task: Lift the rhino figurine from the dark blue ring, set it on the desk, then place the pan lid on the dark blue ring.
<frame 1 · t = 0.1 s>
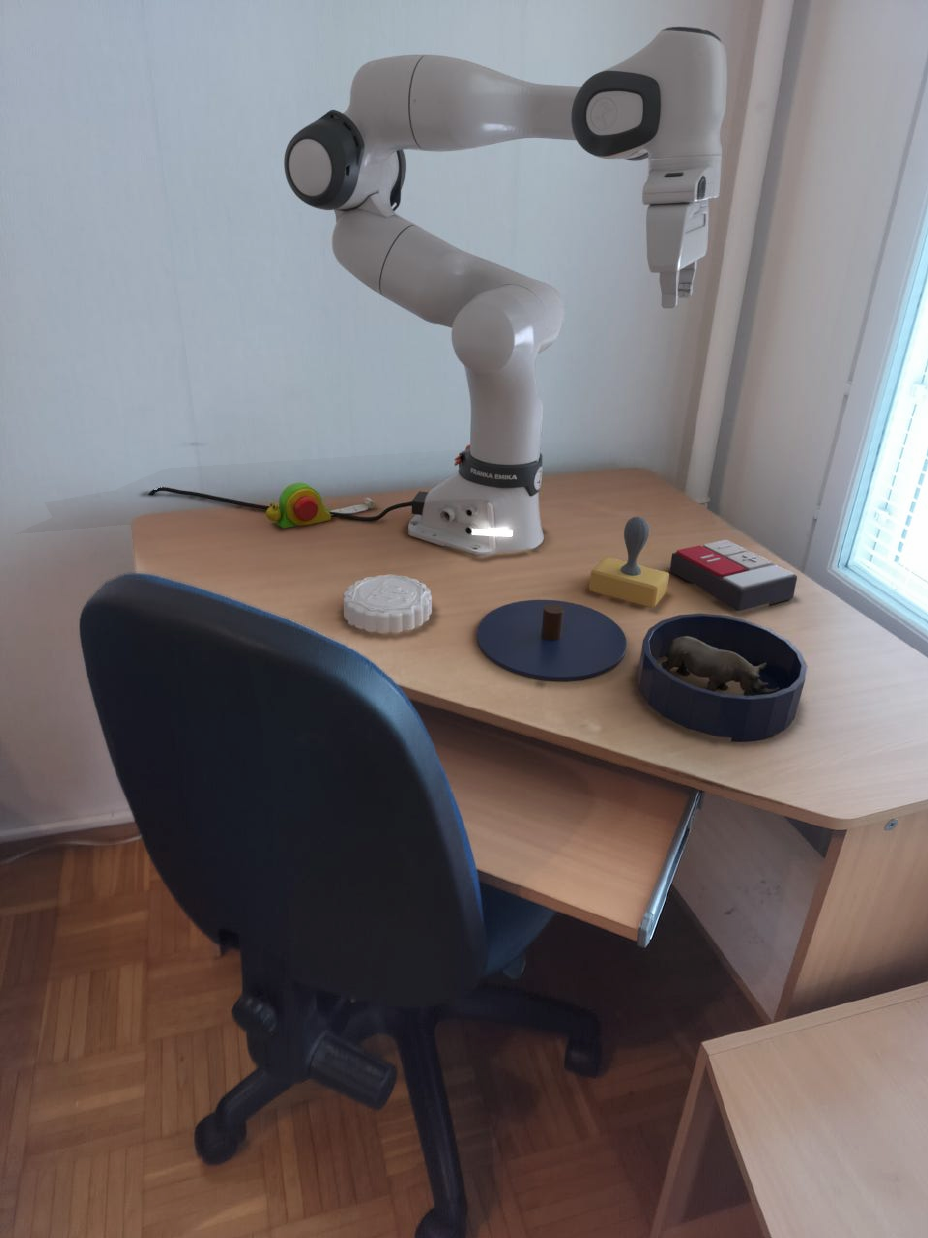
hand: (677, 301, 110), 39 cm above the table, tool pointing down, fingers open, 8 cm apart
rhino figurine: (714, 693, 100), resting on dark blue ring
calculator: (728, 585, 125), on the table
rubber stamp: (626, 595, 122), on the table
mooncake: (388, 615, 115), on the table
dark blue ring: (714, 693, 100), on the table
pan lid: (551, 639, 109), point 1 cm above the table
toy measuring tape: (322, 518, 143), on the table
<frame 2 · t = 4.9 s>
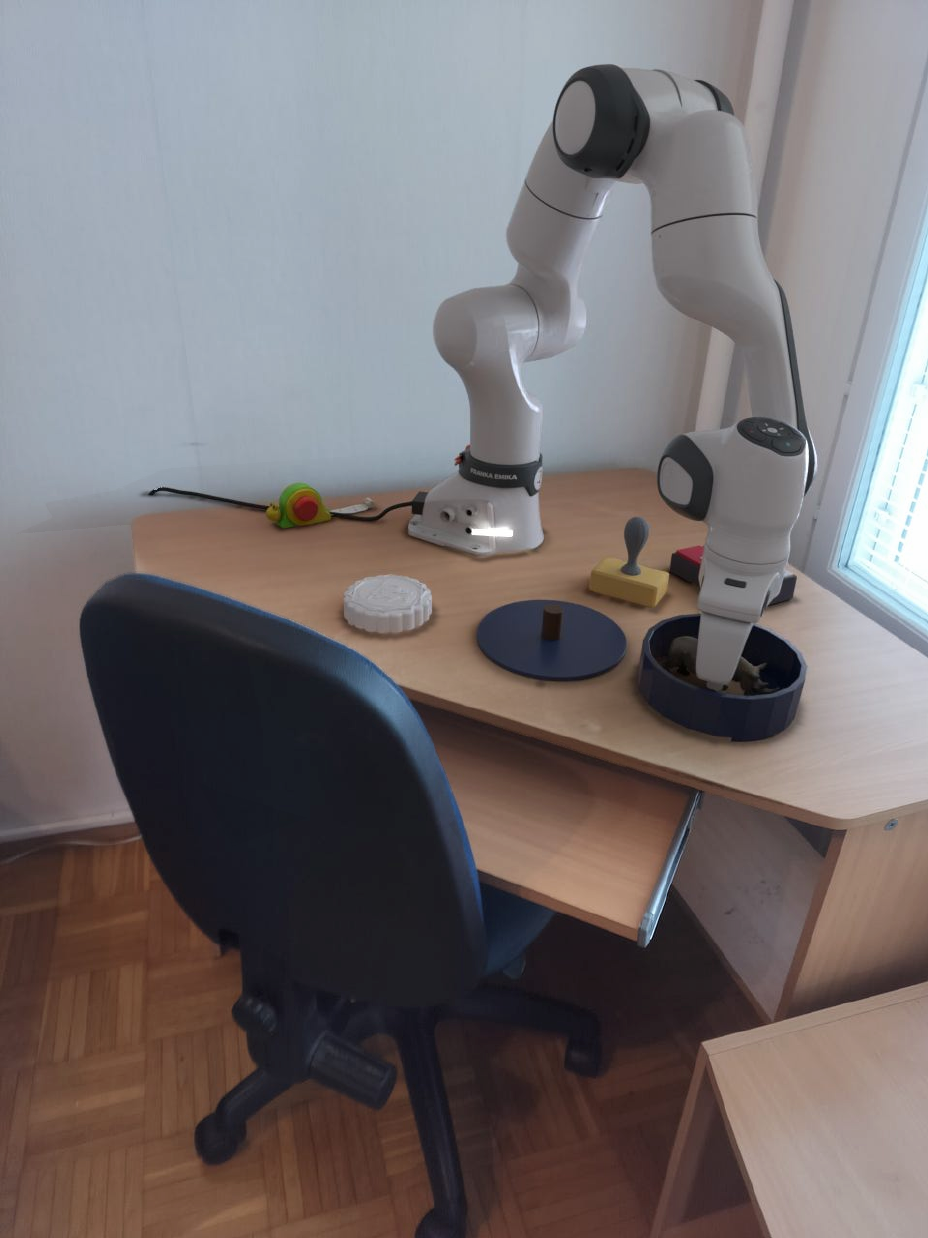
hand: (718, 674, 99), 3 cm above the table, tool pointing down, fingers closed on rhino figurine, 4 cm apart
rhino figurine: (714, 692, 100), resting on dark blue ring, touching gripper
everything else where it was.
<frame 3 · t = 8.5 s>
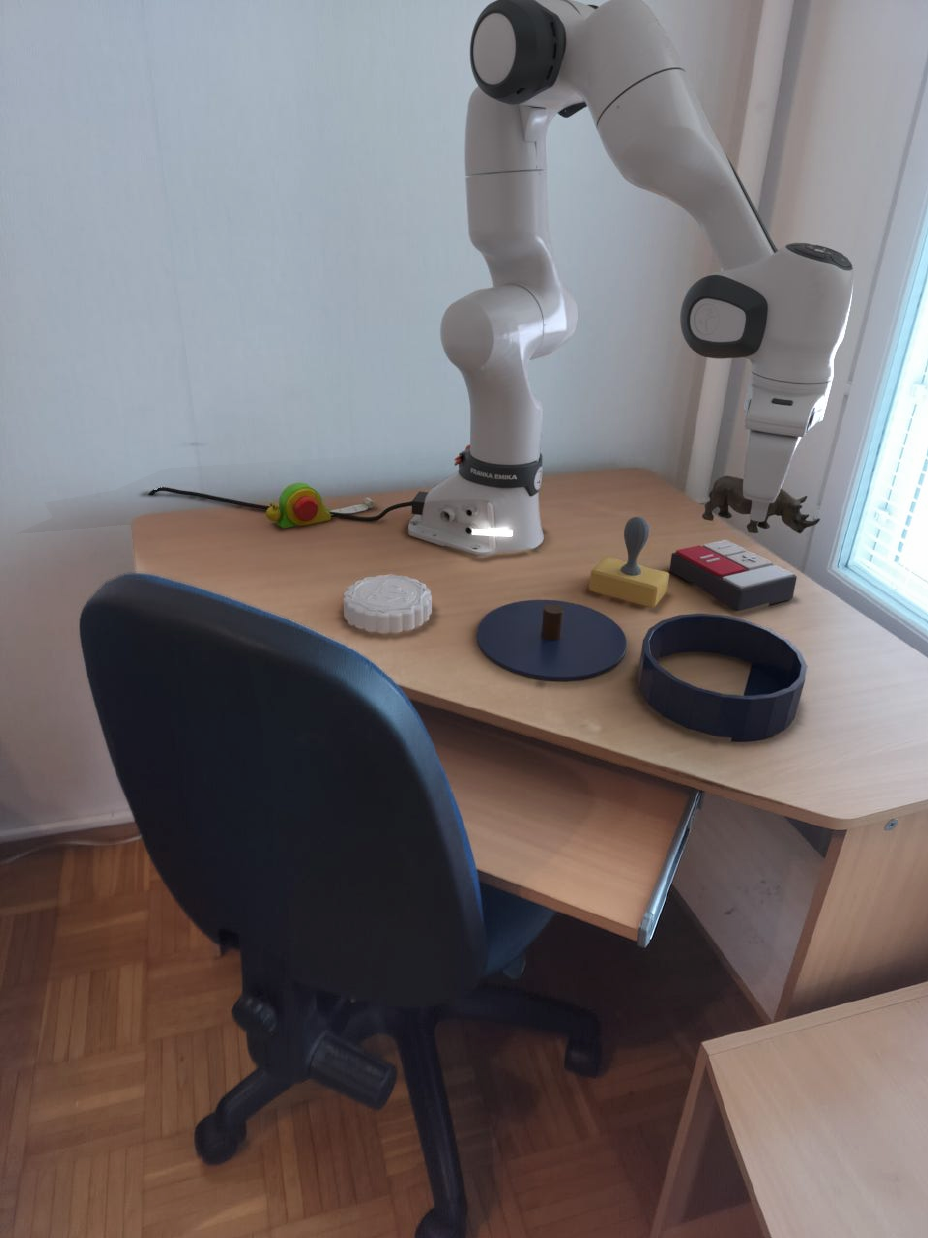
hand: (760, 511, 103), 18 cm above the table, tool pointing down, fingers closed on rhino figurine, 4 cm apart
rhino figurine: (756, 530, 104), point 15 cm above the table, touching gripper
everything else where it was.
when the fingers open (2 cm above the table, at t = 12.5 s): rhino figurine stays where it is, on the table.
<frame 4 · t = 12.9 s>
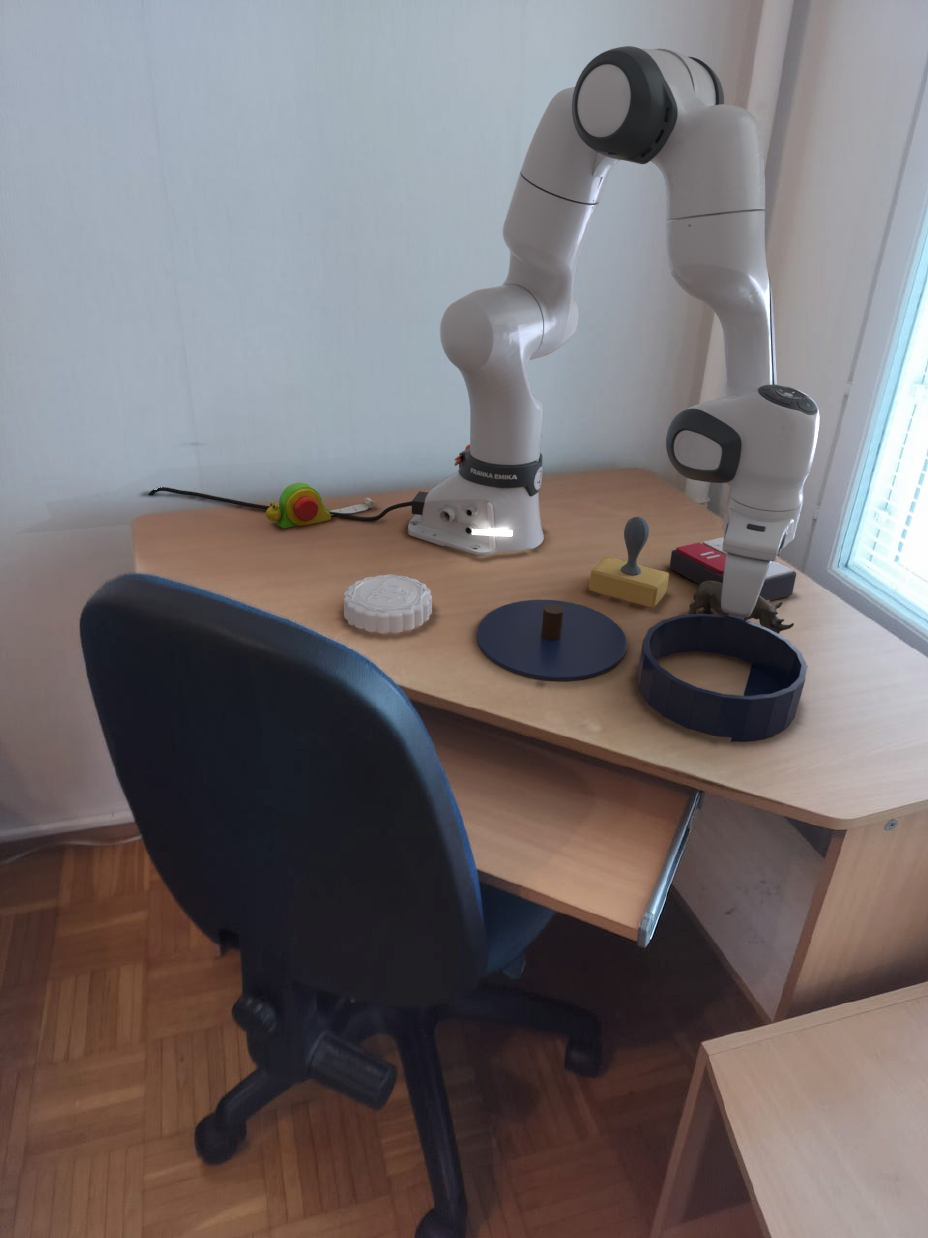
hand: (739, 614, 113), 2 cm above the table, tool pointing down, fingers open, 8 cm apart
rhino figurine: (736, 630, 114), on the table
calculator: (728, 582, 126), on the table, touching gripper
everything else where it was.
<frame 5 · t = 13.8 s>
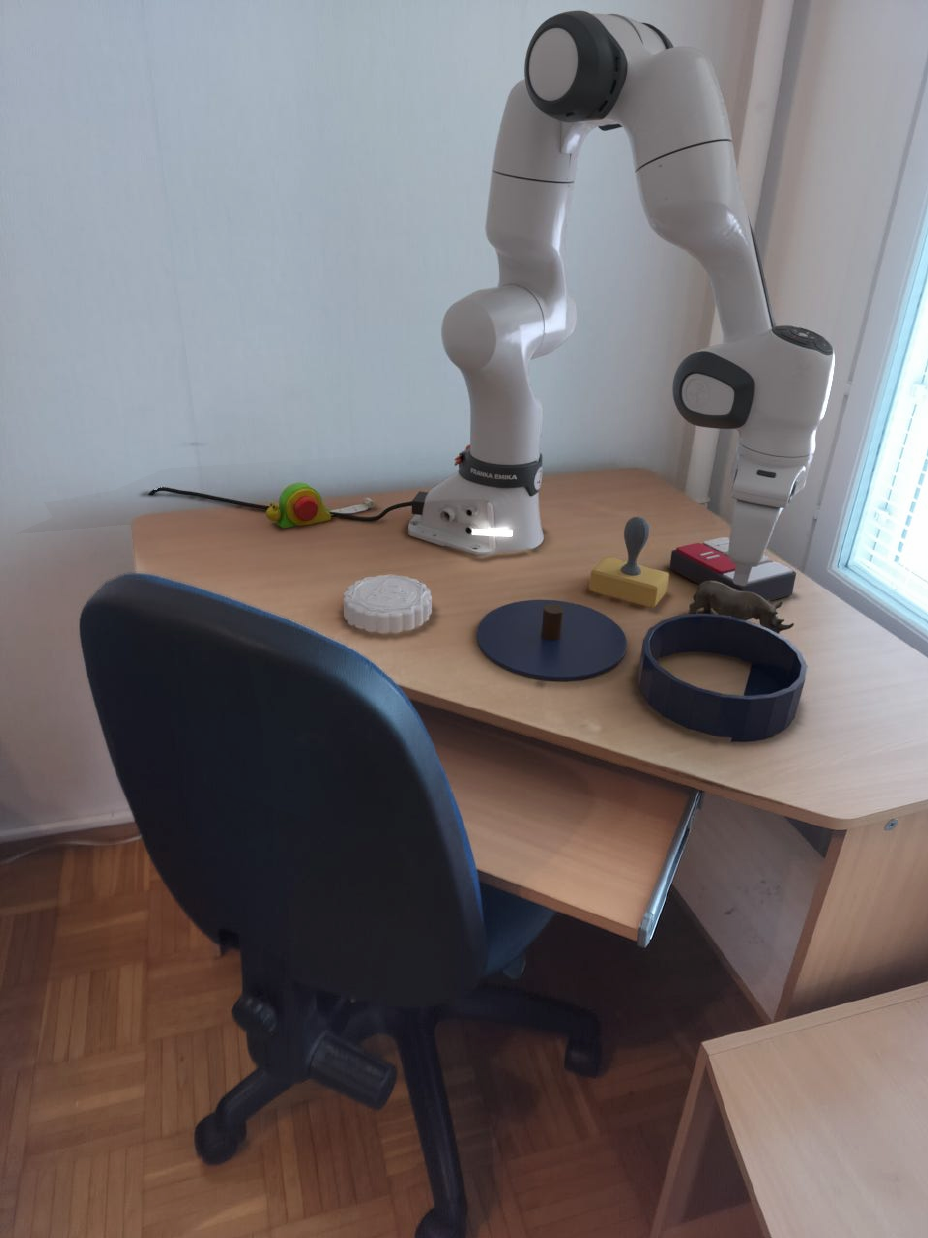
hand: (745, 567, 110), 9 cm above the table, tool pointing down, fingers open, 8 cm apart
calculator: (728, 582, 126), on the table
everything else where it was.
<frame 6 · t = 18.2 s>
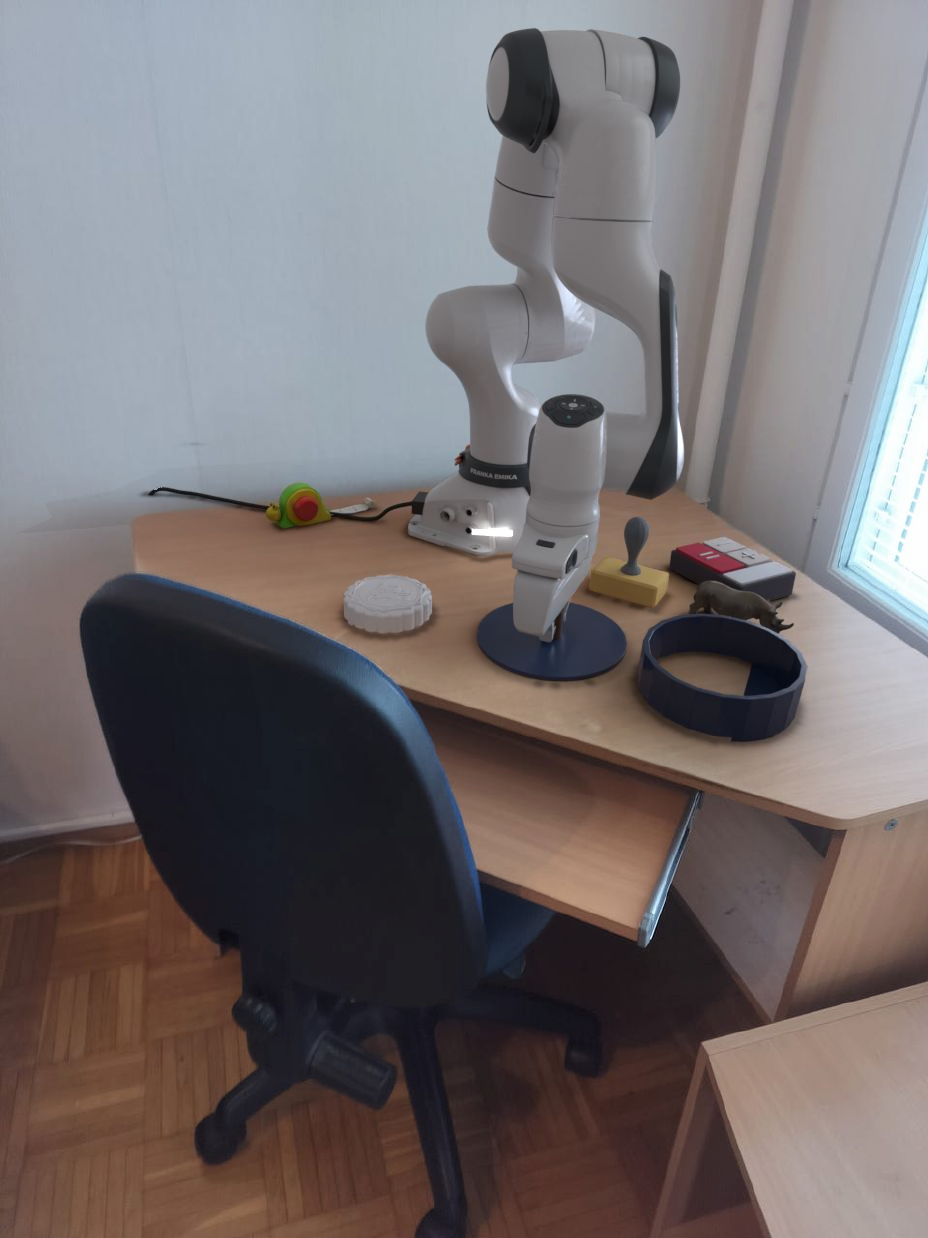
hand: (551, 631, 108), 2 cm above the table, tool pointing down, fingers closed on pan lid, 2 cm apart
pan lid: (551, 639, 109), point 1 cm above the table, touching gripper
everything else where it was.
when the fingers open (7 cm above the table, at t = 25.3 s): pan lid stays where it is, resting on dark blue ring.
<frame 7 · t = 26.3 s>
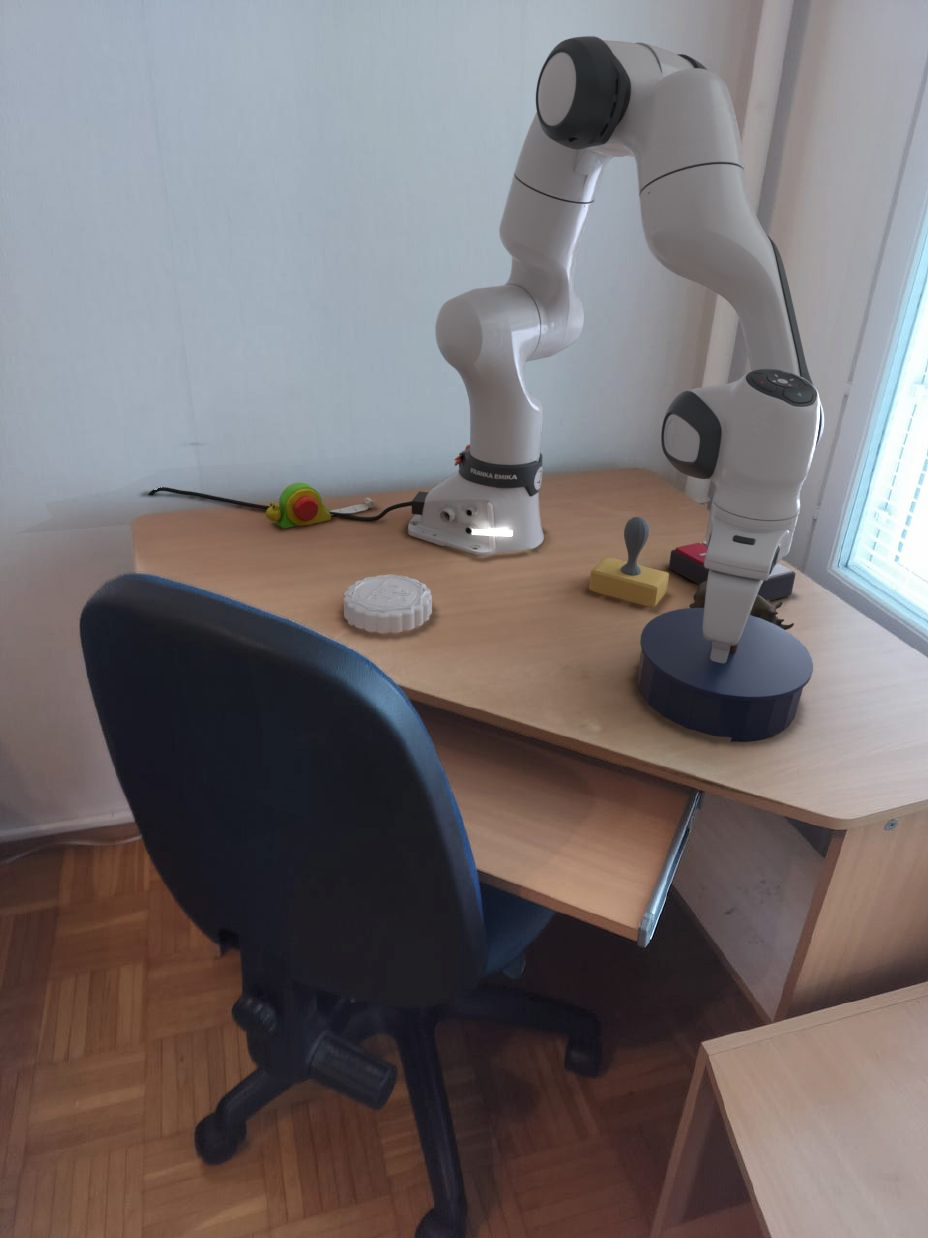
hand: (725, 639, 97), 8 cm above the table, tool pointing down, fingers open, 8 cm apart
pan lid: (724, 652, 97), point 6 cm above the table, touching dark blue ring
everything else where it was.
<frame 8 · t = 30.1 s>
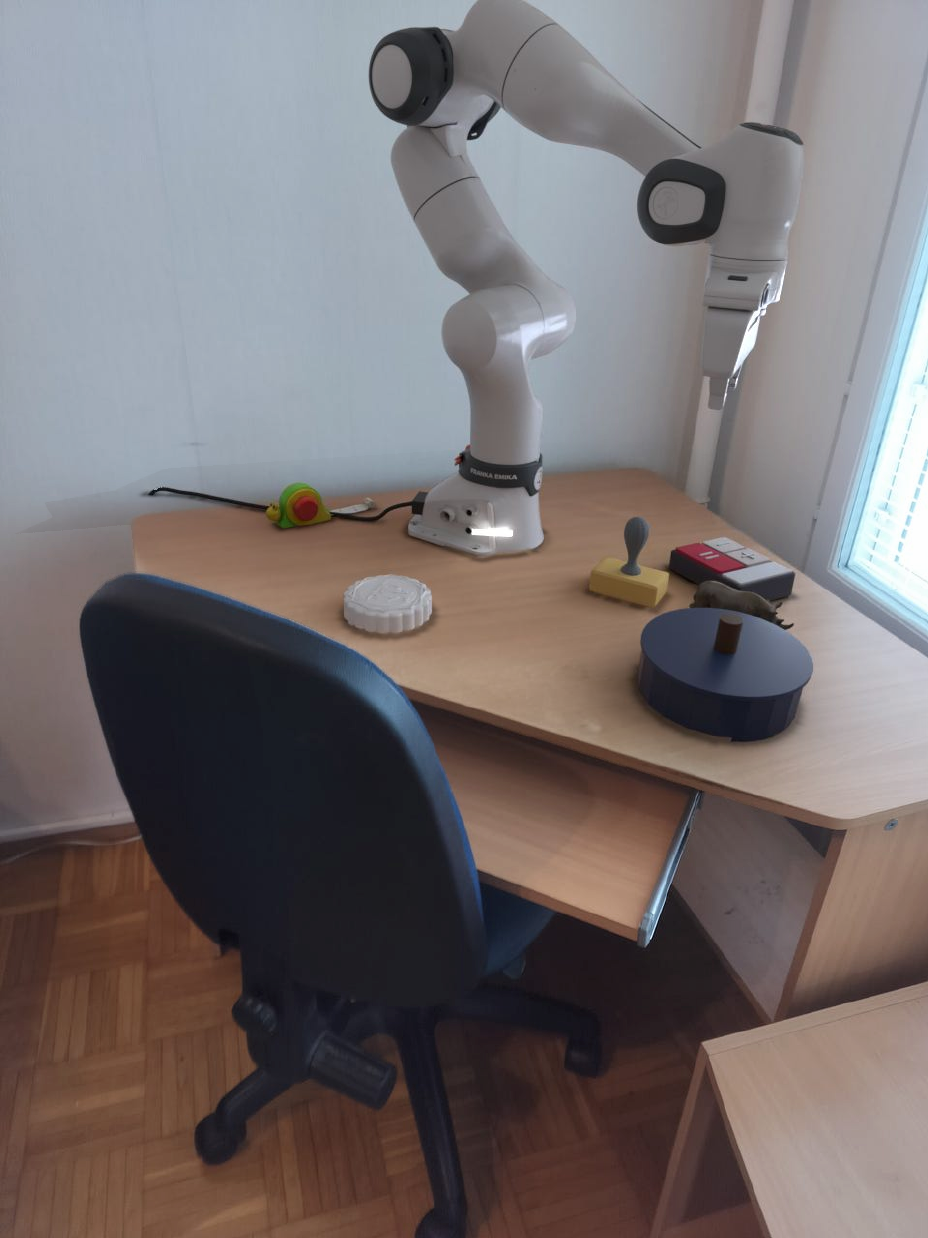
hand: (721, 399, 106), 29 cm above the table, tool pointing down, fingers open, 8 cm apart
nothing on the table moved.
at the end: rhino figurine inside the target area (0.1 cm from its centre), on the table; pan lid 0.1 cm off-centre on the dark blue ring, point 5.8 cm above the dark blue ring's base; pan lid tilted 0° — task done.
